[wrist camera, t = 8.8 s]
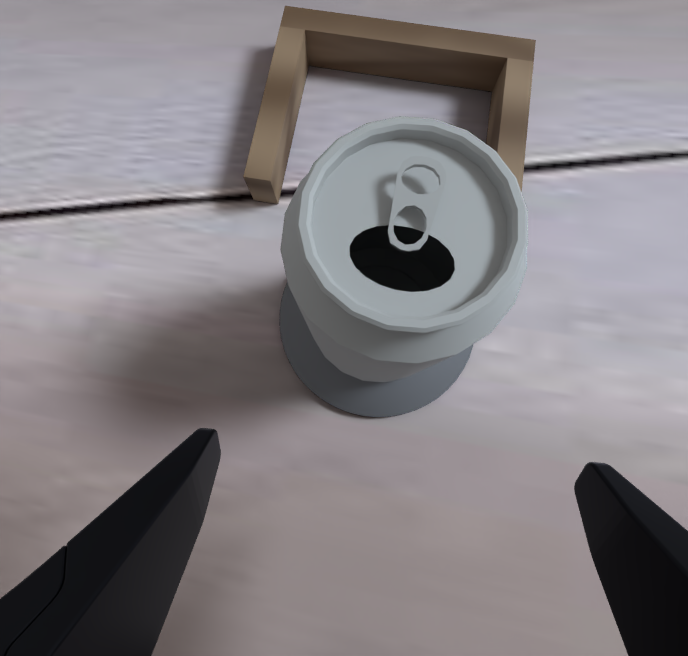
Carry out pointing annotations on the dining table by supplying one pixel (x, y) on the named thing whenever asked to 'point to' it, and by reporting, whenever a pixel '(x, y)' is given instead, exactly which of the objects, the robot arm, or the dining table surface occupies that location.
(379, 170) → the can
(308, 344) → the pad
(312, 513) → the dining table surface
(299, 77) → the wooden frame
